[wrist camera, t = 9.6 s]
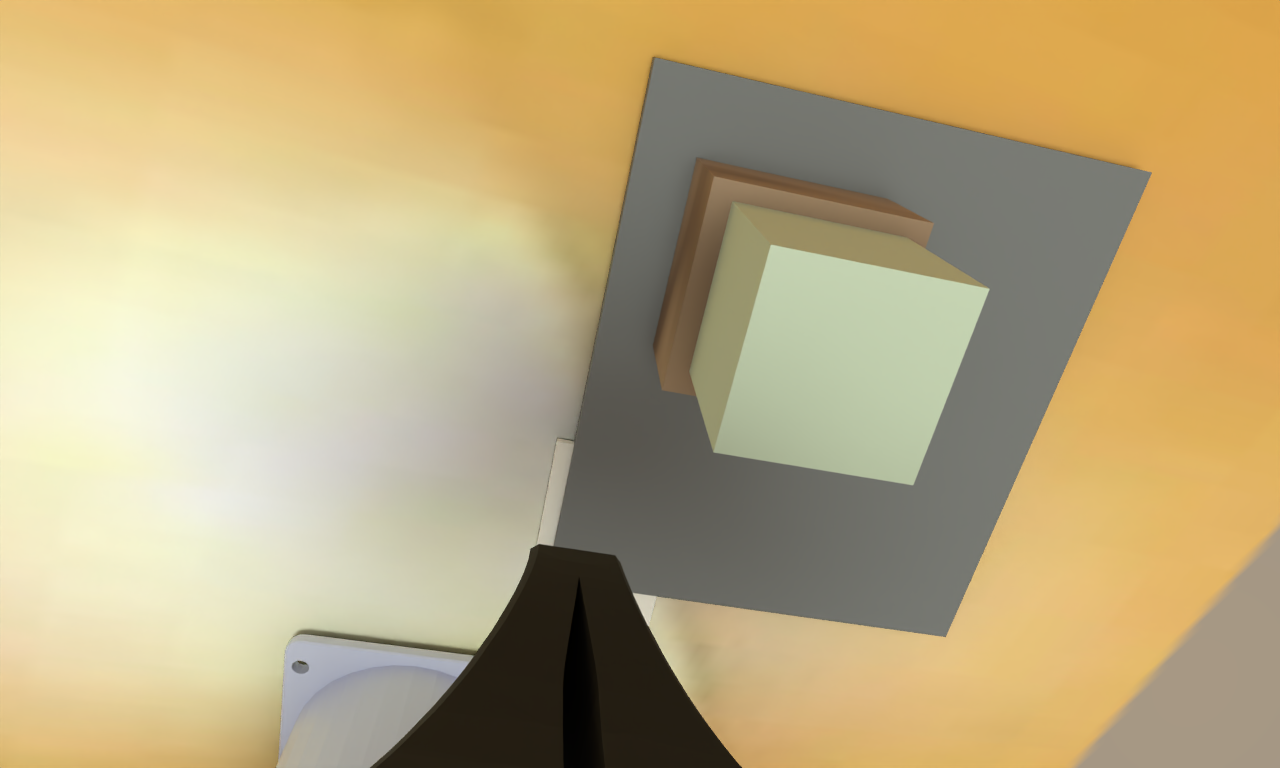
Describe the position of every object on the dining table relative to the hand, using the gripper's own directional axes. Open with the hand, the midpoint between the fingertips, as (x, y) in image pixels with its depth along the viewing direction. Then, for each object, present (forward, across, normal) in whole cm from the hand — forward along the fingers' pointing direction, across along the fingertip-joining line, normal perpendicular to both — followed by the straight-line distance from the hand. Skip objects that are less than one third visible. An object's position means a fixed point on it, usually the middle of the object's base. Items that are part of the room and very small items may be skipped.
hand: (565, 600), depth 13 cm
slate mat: (+10, -7, 0) cm, 12 cm away
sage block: (+7, -4, -4) cm, 9 cm away
